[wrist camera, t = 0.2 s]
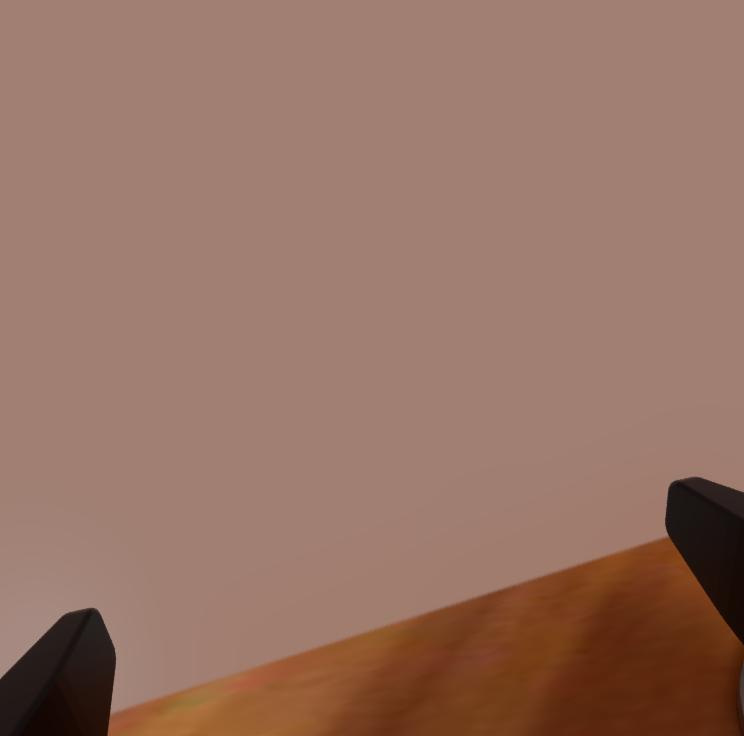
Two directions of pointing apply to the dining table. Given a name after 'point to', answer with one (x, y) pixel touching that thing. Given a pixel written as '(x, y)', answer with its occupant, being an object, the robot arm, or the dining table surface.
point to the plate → (741, 700)
